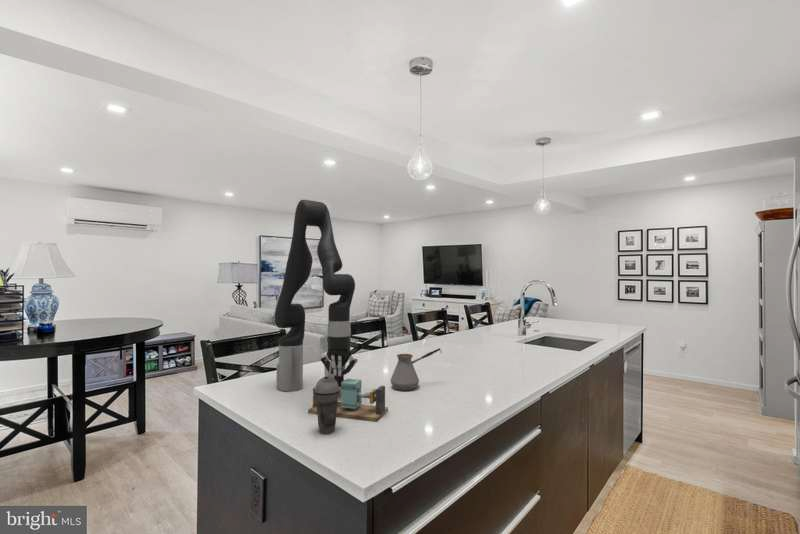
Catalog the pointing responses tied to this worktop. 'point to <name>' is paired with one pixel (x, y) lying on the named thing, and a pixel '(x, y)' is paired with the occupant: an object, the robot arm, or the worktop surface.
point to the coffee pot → (406, 372)
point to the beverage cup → (327, 403)
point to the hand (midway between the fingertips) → (339, 386)
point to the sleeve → (350, 393)
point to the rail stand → (361, 406)
